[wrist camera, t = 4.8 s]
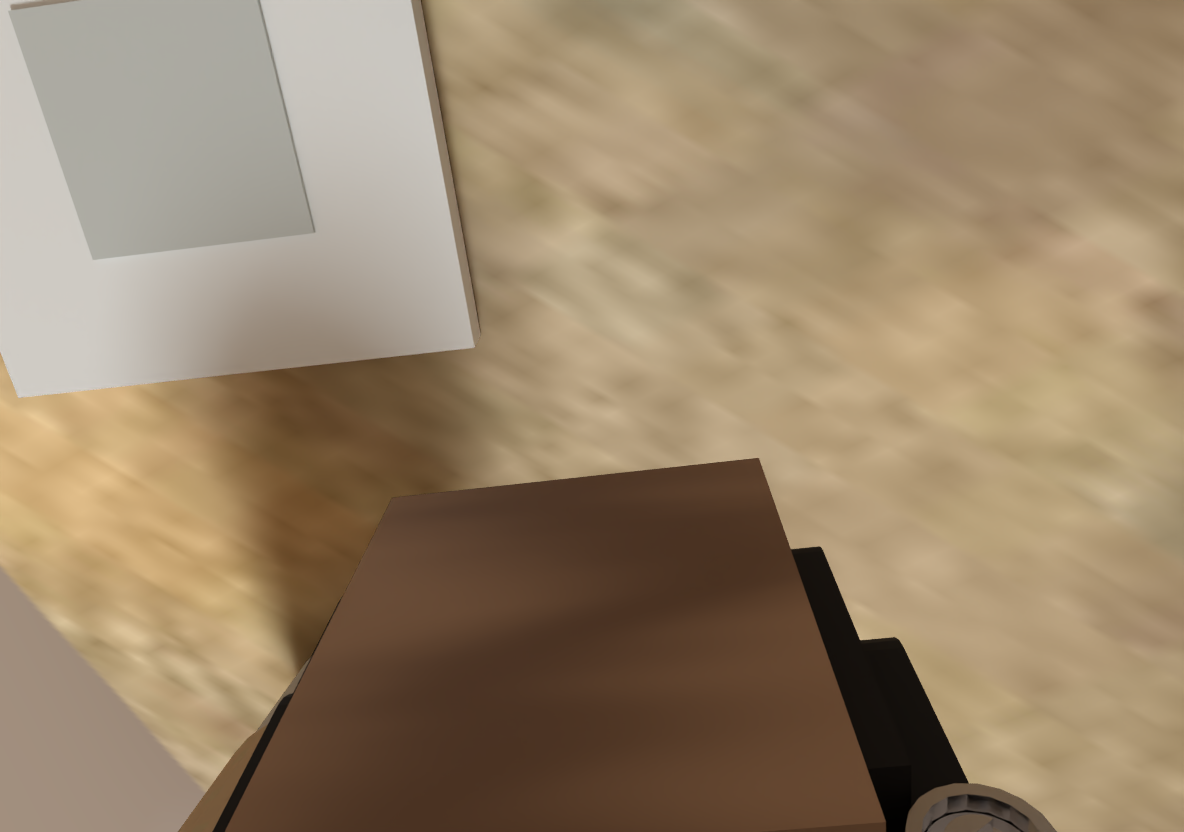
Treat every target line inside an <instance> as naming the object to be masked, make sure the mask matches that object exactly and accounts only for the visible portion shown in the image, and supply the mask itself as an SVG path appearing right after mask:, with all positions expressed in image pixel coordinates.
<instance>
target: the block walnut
mask: <svg viewBox="0 0 1184 832" xmlns="http://www.w3.org/2000/svg"><path fill="white" fill-rule="evenodd" d="M225 832H886V821H885V818H884V815H883V812H882V809H881V806H880V803H879V801H878V798H877V795H876V792H875V789H874V786H873V783H872V781H871V778H870V775H869V772H868V769H867V766H866V763H865V761H864V758H863V755H862V752H861V749H860V746H859V743H858V741H857V738H856V735H855V732H854V729H853V726H852V723H851V721H850V718H849V715H848V712H847V709H846V706H845V703H844V700H843V698H842V695H841V692H840V689H839V686H838V683H837V680H836V678H835V675H834V672H833V669H832V666H831V663H830V660H829V658H828V655H827V652H826V649H825V646H824V643H823V640H822V638H821V635H820V632H819V629H818V626H817V623H816V620H815V618H814V615H813V612H812V609H811V606H810V603H809V600H808V598H807V595H806V592H805V589H804V586H803V583H802V580H801V578H800V575H799V572H798V569H797V566H796V563H795V560H794V558H793V555H792V552H791V549H790V546H789V543H788V540H787V538H786V535H785V532H784V529H783V526H782V523H781V520H780V517H779V515H778V512H777V509H776V506H775V503H774V500H773V497H772V495H771V492H770V489H769V486H768V483H767V480H766V477H765V475H764V472H763V469H762V466H761V463H760V460H759V458H754V459H745V460H735V461H726V462H717V463H708V464H698V465H689V466H680V467H671V468H661V469H652V470H643V471H634V472H625V473H615V474H606V475H597V476H588V477H578V478H569V479H560V480H551V481H541V482H532V483H523V484H514V485H504V486H495V487H486V488H477V489H468V490H458V491H449V492H440V493H431V494H421V495H412V496H403V497H394V498H392V499H391V501H390V503H389V505H388V507H387V509H386V511H385V513H384V515H383V517H382V519H381V521H380V523H379V525H378V527H377V529H376V531H375V533H374V535H373V537H372V539H371V541H370V543H369V545H368V547H367V549H366V551H365V553H364V555H363V557H362V559H361V561H360V563H359V565H358V567H357V569H356V571H355V573H354V575H353V577H352V579H351V581H350V583H349V585H348V587H347V589H346V591H345V593H344V595H343V597H342V599H341V601H340V603H339V605H338V607H337V609H336V611H335V613H334V615H333V617H332V619H331V621H330V623H329V625H328V627H327V629H326V631H325V633H324V635H323V637H322V639H321V641H320V643H319V645H318V647H317V649H316V651H315V653H314V655H313V657H312V659H311V661H310V663H309V665H308V667H307V669H306V671H305V673H304V675H303V677H302V679H301V681H300V683H299V685H298V687H297V689H296V691H295V693H294V695H293V697H292V699H291V701H290V703H289V705H288V707H287V709H286V711H285V713H284V715H283V716H282V718H281V720H280V722H279V724H278V726H277V728H276V730H275V732H274V734H273V736H272V738H271V740H270V742H269V744H268V746H267V748H266V750H265V752H264V754H263V756H262V758H261V760H260V762H259V764H258V766H257V768H256V770H255V772H254V774H253V776H252V778H251V780H250V782H249V784H248V786H247V788H246V790H245V792H244V794H243V796H242V798H241V800H240V802H239V804H238V806H237V808H236V810H235V812H234V814H233V816H232V818H231V820H230V822H229V824H228V826H227V828H226V830H225Z"/></svg>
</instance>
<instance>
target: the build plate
mask: <svg viewBox="0 0 1184 832" xmlns="http://www.w3.org/2000/svg"><path fill="white" fill-rule="evenodd" d="M480 336H481V334H480V328H479V322H478V317H477V311H476V306H475V300H474V295H473V289H472V283H471V278H470V272H469V267H468V261H467V256H466V250H465V244H464V239H463V233H462V228H461V222H460V217H459V211H458V205H457V200H456V194H455V189H454V183H453V178H452V172H451V166H450V161H449V155H448V150H447V144H446V139H445V133H444V127H443V122H442V116H441V111H440V105H439V100H438V94H437V88H436V83H435V77H434V72H433V66H432V61H431V55H430V49H429V44H428V38H427V33H426V27H425V22H424V16H423V10H422V5H421V0H0V352H1V355H2V357H3V360H4V363H5V365H6V368H7V370H8V373H9V375H10V378H11V380H12V383H13V385H14V388H15V390H16V393H17V395H18V398H21V397H30V396H40V395H49V394H58V393H67V392H76V391H85V390H94V389H103V388H112V387H122V386H131V385H140V384H149V383H158V382H167V381H176V380H185V379H194V378H204V377H213V376H222V375H231V374H240V373H249V372H258V371H267V370H277V369H286V368H295V367H304V366H313V365H322V364H331V363H340V362H349V361H359V360H368V359H377V358H386V357H395V356H404V355H413V354H422V353H431V352H441V351H450V350H459V349H468V348H475V346H476V344H477V342H478V340H479V338H480Z"/></svg>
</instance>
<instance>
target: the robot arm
mask: <svg viewBox="0 0 1184 832" xmlns="http://www.w3.org/2000/svg"><path fill="white" fill-rule="evenodd" d="M791 552H792V555H793V558H794V560H795V563H796V566H797V569H798V572H799V575H800V578H801V580H802V583H803V586H804V589H805V592H806V595H807V598H808V600H809V603H810V606H811V609H812V612H813V615H814V618H815V620H816V623H817V626H818V629H819V632H820V635H821V638H822V640H823V643H824V646H825V649H826V652H827V655H828V658H829V660H830V663H831V666H832V669H833V672H834V675H835V678H836V680H837V683H838V686H839V689H840V692H841V695H842V698H843V700H844V703H845V706H846V709H847V712H848V715H849V718H850V721H851V723H852V726H853V729H854V732H855V735H856V738H857V741H858V743H859V746H860V749H861V752H862V755H863V758H864V761H865V763H866V766H867V769H868V772H869V775H870V778H871V781H872V783H873V786H874V789H875V792H876V795H877V798H878V801H879V803H880V806H881V809H882V812H883V815H884V818H885V821H886V832H1057V831H1056V830H1055V829H1054V828H1053V826H1052V825H1051V824H1050V823H1049V822H1048V820H1047V819H1046V818H1045V817H1044V815H1043V814H1042V813H1040V812H1039V811H1038V810H1036V809H1035V808H1034V807H1032V806H1031V805H1030V804H1028V803H1027V802H1026V801H1024V800H1023V799H1021V798H1019V797H1017V796H1014V795H1012V794H1010V793H1008V792H1006V791H1003V790H1001V789H998V788H994V787H989V786H985V785H981V784H969V783H968V780H967V778H966V776H965V774H964V772H963V770H962V768H961V766H960V764H959V762H958V760H957V758H956V755H955V753H954V751H953V749H952V747H951V745H950V743H949V741H948V739H947V737H946V735H945V733H944V731H943V728H942V726H941V724H940V722H939V720H938V718H937V716H936V714H935V712H934V710H933V708H932V706H931V703H930V701H929V699H928V697H927V695H926V693H925V691H924V689H923V687H922V685H921V683H920V681H919V678H918V676H917V674H916V672H915V670H914V668H913V666H912V664H911V662H910V660H909V658H908V656H907V653H906V651H905V649H904V647H903V646H902V644H901V642H900V641H899V640H898V639H897V638H895V637H893V638H882V639H871V640H860V639H859V637H858V634H857V632H856V630H855V627H854V625H853V622H852V620H851V617H850V615H849V613H848V610H847V608H846V605H845V603H844V600H843V598H842V596H841V593H840V591H839V588H838V586H837V583H836V581H835V579H834V576H833V574H832V571H831V569H830V566H829V564H828V562H827V559H826V557H825V554H824V552H823V550H822V548H821V547H810V548H800V549H791ZM342 597H343V596H342ZM341 599H342V598H341ZM341 599H340V601H341ZM340 601H339V603H340ZM339 603H338V605H339ZM338 605H337V607H338ZM337 607H336V609H337ZM336 609H335V611H336ZM335 611H334V613H335ZM334 613H333V615H334ZM333 615H332V617H333ZM332 617H331V619H332ZM331 619H330V621H331ZM330 621H329V623H330ZM329 623H328V625H329ZM328 625H327V627H328ZM327 627H326V629H327ZM326 629H325V631H326ZM325 631H324V633H325ZM324 633H323V634H322V636H321V638H320V640H319V642H318V644H317V646H316V648H315V650H314V652H313V654H312V656H311V658H310V660H309V662H308V664H307V666H306V668H305V670H304V672H303V674H302V676H301V678H300V680H299V682H298V684H297V686H296V688H295V690H294V692H293V693H292V694H288V695H287V696H285V697H283V699H282V700H281V701H280V703H279V704H278V706H277V708H276V710H275V711H274V713H273V715H272V717H271V719H270V721H269V723H268V725H267V727H266V729H265V731H264V733H263V735H262V737H261V739H260V740H259V742H258V744H257V746H256V748H255V750H254V752H253V754H252V756H251V758H250V760H249V762H248V764H247V766H246V768H245V769H244V771H243V773H242V775H241V777H240V779H239V781H238V783H237V785H236V787H235V789H234V791H233V793H232V795H231V797H230V799H229V800H228V802H227V804H226V806H225V808H224V810H223V812H222V814H221V816H220V818H219V820H218V822H217V824H216V826H215V828H214V829H213V831H212V832H225V830H226V828H227V826H228V824H229V822H230V820H231V818H232V816H233V814H234V812H235V810H236V808H237V806H238V804H239V802H240V800H241V798H242V796H243V794H244V792H245V790H246V788H247V786H248V784H249V782H250V780H251V778H252V776H253V774H254V772H255V770H256V768H257V766H258V764H259V762H260V760H261V758H262V756H263V754H264V752H265V750H266V748H267V746H268V744H269V742H270V740H271V738H272V736H273V734H274V732H275V730H276V728H277V726H278V724H279V722H280V720H281V718H282V716H283V715H284V713H285V711H286V709H287V707H288V705H289V703H290V701H291V699H292V697H293V695H294V693H295V691H296V689H297V687H298V685H299V683H300V681H301V679H302V677H303V675H304V673H305V671H306V669H307V667H308V665H309V663H310V661H311V659H312V657H313V655H314V653H315V651H316V649H317V647H318V645H319V643H320V641H321V639H322V637H323V635H324Z"/></svg>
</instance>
